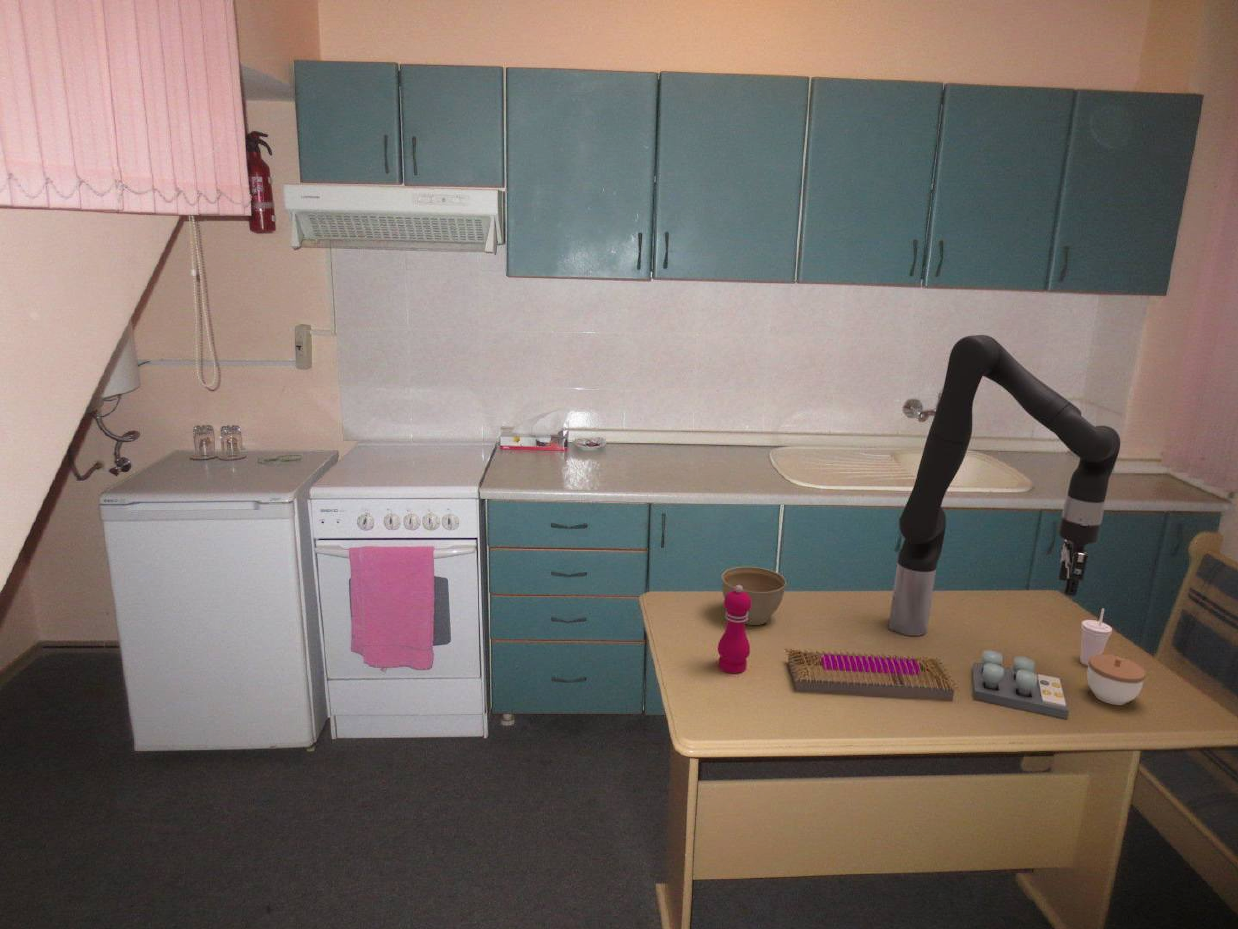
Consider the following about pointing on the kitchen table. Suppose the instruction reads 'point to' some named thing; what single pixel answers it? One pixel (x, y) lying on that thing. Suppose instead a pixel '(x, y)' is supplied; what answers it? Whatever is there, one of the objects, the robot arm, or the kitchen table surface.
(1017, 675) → the button near right
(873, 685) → the rafter model
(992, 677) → the button near left
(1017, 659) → the button far right
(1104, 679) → the lidded jar
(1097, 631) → the smoothie
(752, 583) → the planter bowl
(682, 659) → the kitchen table surface
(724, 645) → the pepper mill
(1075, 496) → the robot arm
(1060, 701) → the button board
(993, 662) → the button far left
